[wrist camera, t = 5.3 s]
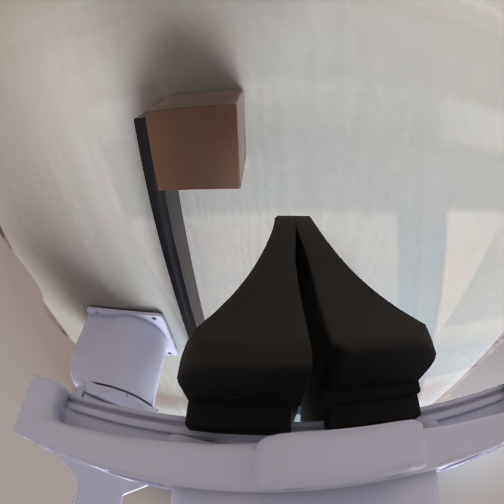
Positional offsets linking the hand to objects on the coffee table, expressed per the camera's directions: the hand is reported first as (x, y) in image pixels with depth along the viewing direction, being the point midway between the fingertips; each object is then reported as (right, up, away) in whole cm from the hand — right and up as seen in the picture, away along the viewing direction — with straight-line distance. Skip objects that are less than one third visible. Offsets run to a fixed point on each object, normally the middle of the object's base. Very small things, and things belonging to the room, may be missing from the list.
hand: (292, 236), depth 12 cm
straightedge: (-7, -7, +17) cm, 20 cm away
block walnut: (-4, +7, +5) cm, 10 cm away
